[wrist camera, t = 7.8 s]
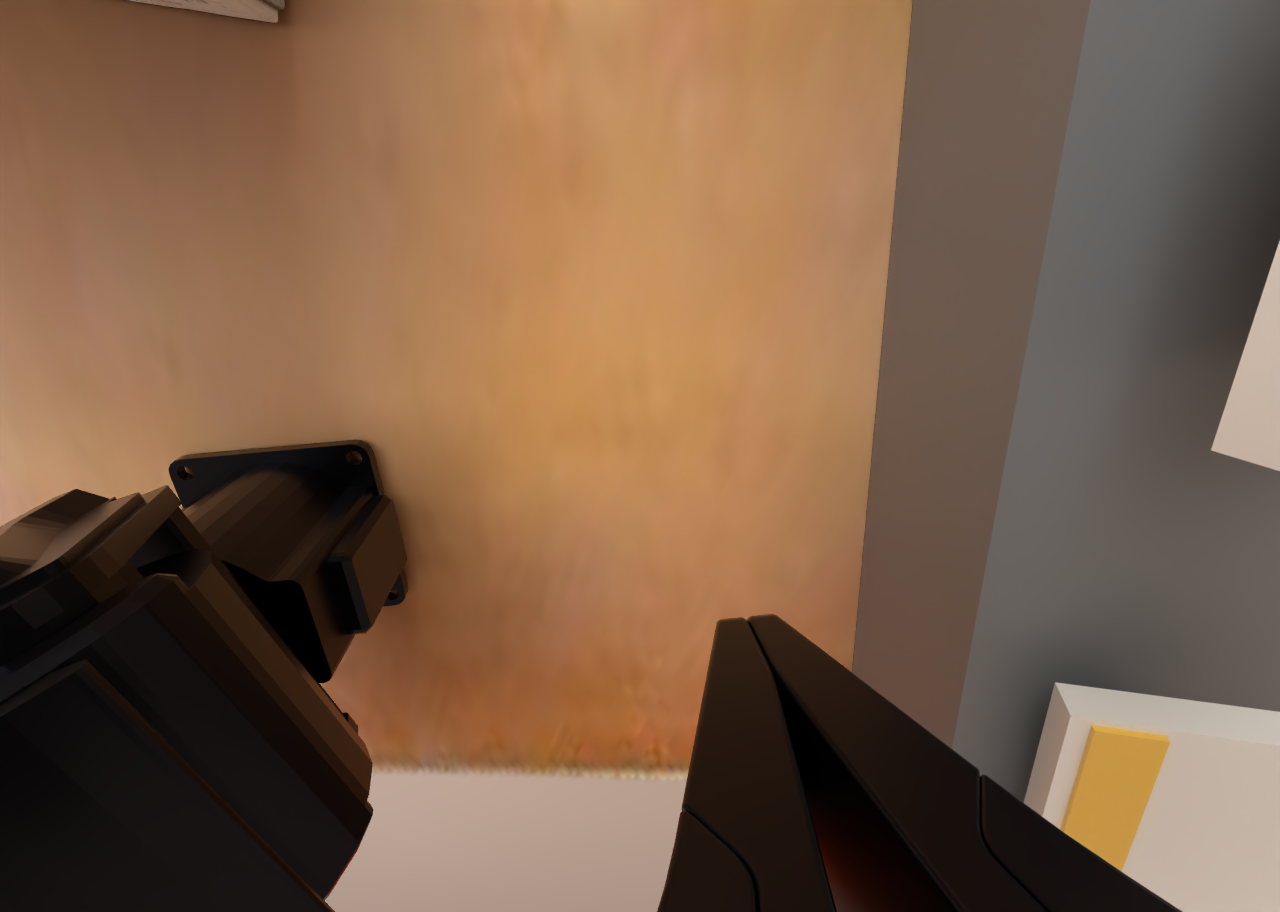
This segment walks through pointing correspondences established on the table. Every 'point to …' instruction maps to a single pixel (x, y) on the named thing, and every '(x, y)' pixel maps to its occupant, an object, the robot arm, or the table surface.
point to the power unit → (1073, 368)
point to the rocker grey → (1256, 386)
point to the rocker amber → (1167, 793)
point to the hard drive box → (229, 7)
